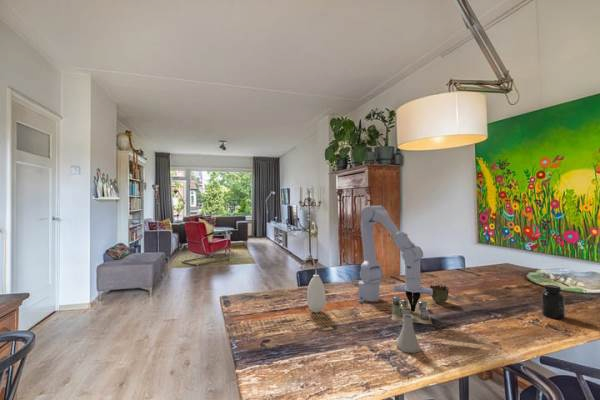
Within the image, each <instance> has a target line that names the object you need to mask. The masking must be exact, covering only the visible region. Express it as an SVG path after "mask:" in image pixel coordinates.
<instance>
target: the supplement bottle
mask: <svg viewBox="0 0 600 400" xmlns="http://www.w3.org/2000/svg"><path fill="white" fill-rule="evenodd" d="M561 292H562V290H561V286H559V285H554V284H544V291H542V292H541V313H542V315H543V316H544V317H547V318H549V319H552V320H564V319H565V318H566V307H565V306H566V304H565V303H566V302H565V296H564V295H563V293H561Z"/></svg>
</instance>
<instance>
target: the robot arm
mask: <svg viewBox="0 0 600 400" xmlns="http://www.w3.org/2000/svg"><path fill="white" fill-rule="evenodd" d="M388 213H389V212H388V210H386V209H385V207H384V205H381V204H380V205H365V206H364V207H362V209H361V211H360V217H361V219H360V223H359V225H360V232H361V233H360V234H361V242H362V243H361V244H362V252H363V254H362V255H363V262H362V263H361V264H360V270H359V271H360V272H359V278H360V280H359V281H358V292H357V293H358V295H357V296H358V303H362V304H364V301H368V302H378V301H380V290H381V289H380V282H381V279H382V278H383V277H384V276H383V275H384V271H383V269H382V266H381V263H380V262H379V261H378V260H377V254H376V253H377V252H376V245H375V244H376V243H375V236H374V235H375V234H374V226H375V224H376V223H377V222H378V223H381V224H382V226H384V228H385V229H386V230H387V231H388V232H389V233H390V234H391V236H392V241H393V243H394V245H396V247H397V248H398V249H399V251H400V252H401V257H402V260H403V261H404V283H405V284H404V285H393V292H394V293H395V292H397V293H398V292H400V293H401V292H402V293H405V296H406V298H407V300H408V304H410V307H411V311H412V312H415V308H416V305H418V301H420V300H419V299H420V298H421V294H423V295H430V296H431V295H433V290H432V289H430V287H429V288H428V287H421V260H422V259H423V257H424V252H423V250H422V248H421V247H420V246H418V245H416V244H415V243H414V242H412V241H411V239H410V238H409V237H408V236H409V235H408V233H406V232H404V231H400V230H399V229H398V226H396V224H395V223H394V222H393V220H392V219H391V217H390V215H389V214H388Z"/></svg>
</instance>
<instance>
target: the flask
mask: <svg viewBox="0 0 600 400" xmlns="http://www.w3.org/2000/svg"><path fill="white" fill-rule="evenodd" d="M403 318H404V321H403V324H402V327H401V330H400V333H399V336H398V338H397V341H396V348H398V349H399V350H400V351H402V352H404V353H410V354H411V353H412V354H415V353H419V352H421V351H422V350H421V347H420V345H419V340H418V338H417V336H416V332H415V329H414V324H413V323H414V322H413V319H414V317H413V316H412V315H410V314H404V315H403Z"/></svg>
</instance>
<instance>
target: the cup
mask: <svg viewBox="0 0 600 400" xmlns="http://www.w3.org/2000/svg"><path fill="white" fill-rule="evenodd" d="M429 289H432V290H433V295H430V296H431V299H432V300H433V301H434V302H435V303H436V304H441V305H442V304H445V302H447V300H448V298H449V290H450V288H448V286H447V285H444V286H443V285H440V284H438V285H437V284H433V285H430V286H429Z"/></svg>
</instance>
